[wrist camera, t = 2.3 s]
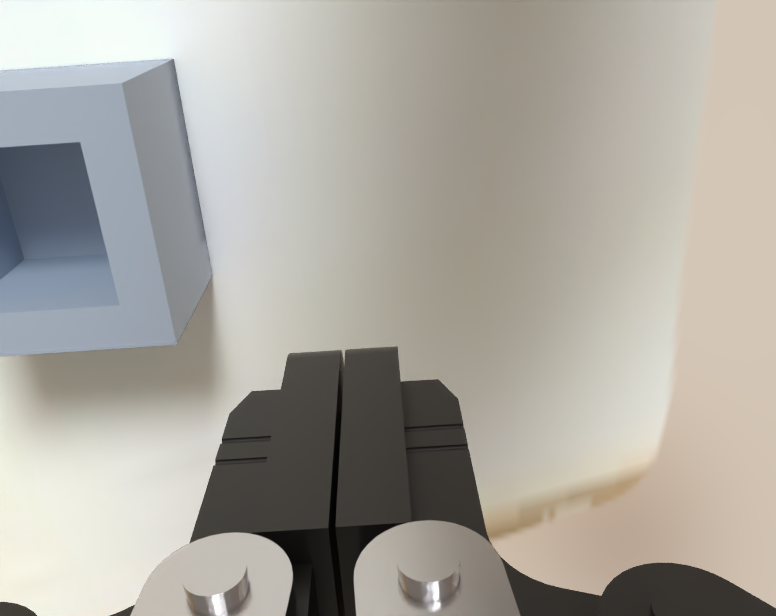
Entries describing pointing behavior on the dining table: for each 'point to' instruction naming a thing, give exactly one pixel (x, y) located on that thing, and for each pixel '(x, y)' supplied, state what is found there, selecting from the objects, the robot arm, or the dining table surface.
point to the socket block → (96, 209)
